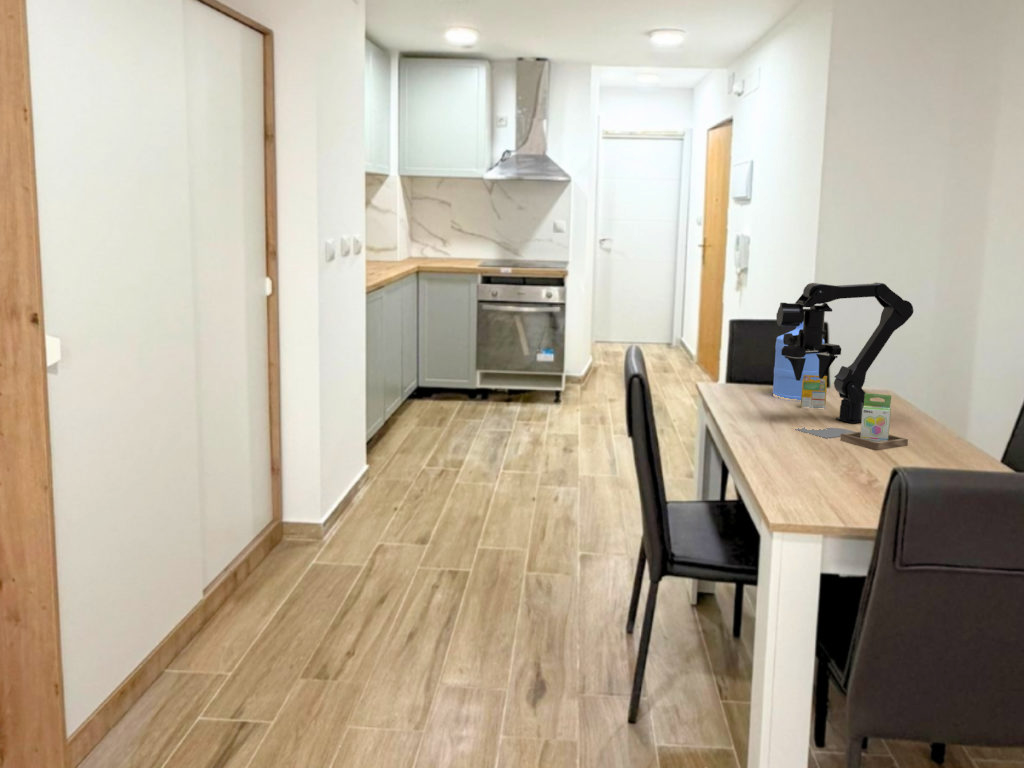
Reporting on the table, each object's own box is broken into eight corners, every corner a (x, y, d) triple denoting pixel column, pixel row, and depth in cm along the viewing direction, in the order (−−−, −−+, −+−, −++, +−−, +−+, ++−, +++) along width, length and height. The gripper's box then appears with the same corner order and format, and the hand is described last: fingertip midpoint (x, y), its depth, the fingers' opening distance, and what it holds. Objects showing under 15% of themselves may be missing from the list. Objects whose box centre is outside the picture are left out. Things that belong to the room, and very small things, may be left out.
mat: (824, 425, 279) (824, 423, 279) (862, 435, 267) (862, 433, 267) (788, 429, 272) (788, 427, 272) (826, 439, 260) (826, 437, 260)
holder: (871, 437, 264) (871, 430, 264) (907, 446, 254) (908, 439, 253) (840, 441, 258) (840, 434, 258) (876, 450, 248) (876, 443, 248)
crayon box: (824, 411, 302) (827, 374, 300) (825, 412, 299) (827, 376, 297) (800, 409, 303) (802, 373, 301) (800, 411, 300) (803, 374, 298)
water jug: (826, 405, 311) (833, 319, 307) (778, 404, 311) (784, 318, 307) (812, 396, 327) (818, 315, 322) (766, 395, 327) (772, 314, 322)
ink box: (859, 444, 255) (863, 395, 253) (860, 441, 259) (864, 392, 257) (887, 447, 253) (891, 397, 250) (887, 444, 256) (892, 395, 254)
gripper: (815, 322, 289) (811, 373, 291) (769, 324, 280) (766, 377, 282) (844, 326, 279) (840, 379, 282) (797, 328, 270) (793, 383, 273)
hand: (809, 379), depth 280 cm, fingers open, 9 cm apart
